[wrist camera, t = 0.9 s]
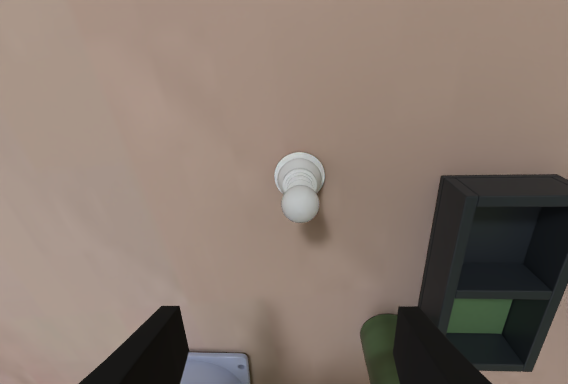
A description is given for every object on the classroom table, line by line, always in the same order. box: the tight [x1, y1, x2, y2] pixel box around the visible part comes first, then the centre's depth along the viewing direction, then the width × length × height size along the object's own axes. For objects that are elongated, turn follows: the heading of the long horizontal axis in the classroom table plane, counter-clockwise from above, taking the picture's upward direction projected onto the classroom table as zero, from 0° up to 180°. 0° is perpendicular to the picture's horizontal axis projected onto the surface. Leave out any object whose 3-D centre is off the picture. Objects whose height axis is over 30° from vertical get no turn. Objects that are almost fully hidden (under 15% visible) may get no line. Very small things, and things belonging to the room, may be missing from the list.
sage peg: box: [360, 314, 400, 384], centre depth 19 cm, size 4×4×6 cm
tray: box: [418, 174, 568, 372], centre depth 18 cm, size 6×12×3 cm, turn 2°
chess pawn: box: [274, 152, 325, 223], centre depth 16 cm, size 3×3×5 cm
